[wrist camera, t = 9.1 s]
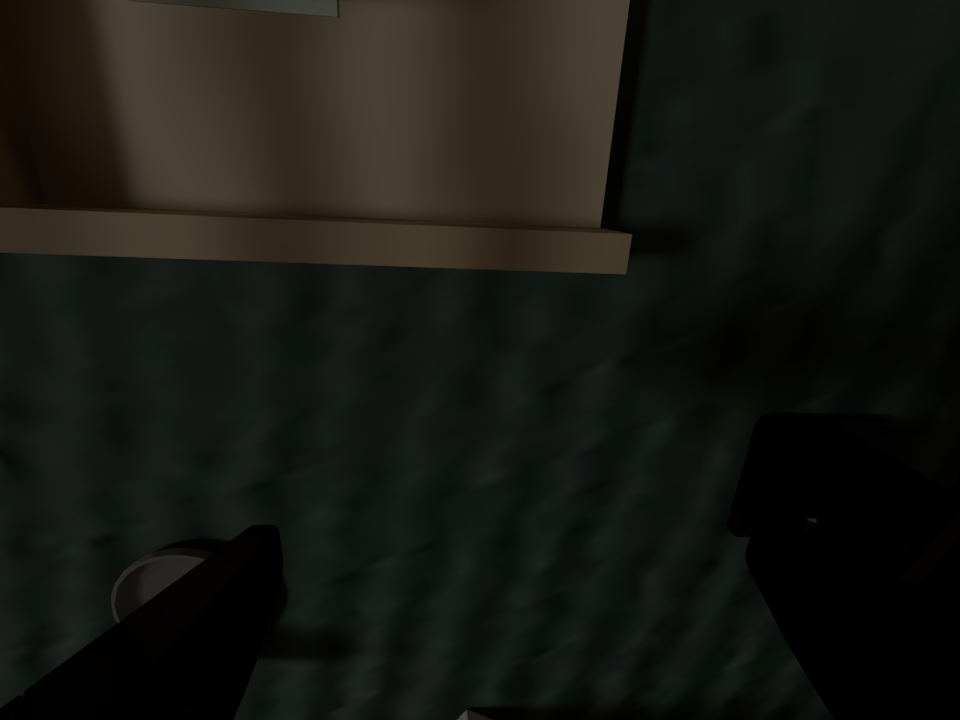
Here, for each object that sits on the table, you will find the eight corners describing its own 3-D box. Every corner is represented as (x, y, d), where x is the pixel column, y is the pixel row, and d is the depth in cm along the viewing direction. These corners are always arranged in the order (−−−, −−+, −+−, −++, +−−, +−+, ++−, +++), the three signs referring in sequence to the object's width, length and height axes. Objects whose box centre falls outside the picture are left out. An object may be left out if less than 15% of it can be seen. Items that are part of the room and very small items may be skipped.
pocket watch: (239, 526, 21) (70, 797, 11) (298, 651, 24) (201, 949, 14) (66, 561, 21) (-246, 860, 11) (146, 682, 24) (-50, 999, 14)
